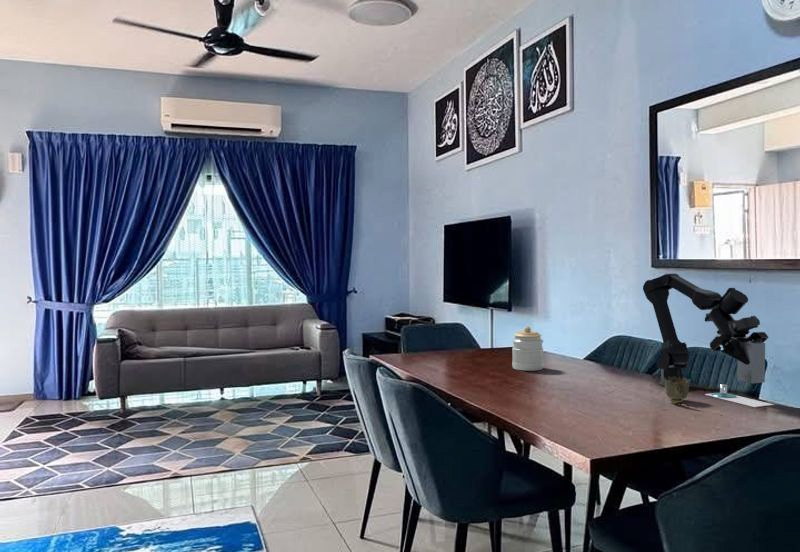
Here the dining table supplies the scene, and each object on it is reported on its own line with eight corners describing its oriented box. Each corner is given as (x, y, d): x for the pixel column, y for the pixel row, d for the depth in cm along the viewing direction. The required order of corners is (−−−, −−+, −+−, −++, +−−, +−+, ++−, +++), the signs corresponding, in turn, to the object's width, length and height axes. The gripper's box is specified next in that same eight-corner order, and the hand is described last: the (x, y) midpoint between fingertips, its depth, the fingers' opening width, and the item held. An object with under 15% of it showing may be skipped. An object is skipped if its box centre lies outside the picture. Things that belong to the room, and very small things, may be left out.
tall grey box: (737, 380, 191) (737, 341, 191) (750, 379, 193) (750, 341, 193) (751, 383, 186) (752, 343, 186) (764, 382, 188) (765, 343, 188)
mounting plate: (704, 397, 202) (704, 394, 202) (723, 395, 205) (723, 392, 205) (754, 410, 184) (754, 406, 184) (774, 407, 187) (774, 404, 187)
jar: (546, 371, 253) (546, 328, 253) (515, 371, 253) (514, 328, 253) (539, 365, 266) (539, 325, 266) (509, 366, 266) (509, 325, 266)
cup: (678, 407, 188) (678, 381, 188) (658, 402, 195) (658, 377, 195) (695, 404, 192) (695, 379, 192) (674, 400, 198) (674, 375, 198)
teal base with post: (706, 397, 202) (706, 383, 202) (723, 395, 204) (723, 382, 204) (724, 402, 195) (724, 387, 195) (741, 400, 197) (741, 386, 197)
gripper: (717, 308, 190) (747, 348, 180) (763, 306, 196) (795, 345, 186) (697, 331, 197) (725, 371, 187) (742, 328, 203) (771, 367, 193)
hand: (754, 363), depth 188 cm, fingers closed on tall grey box, 5 cm apart
